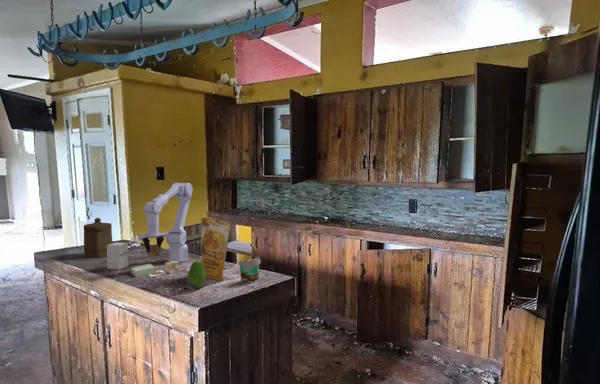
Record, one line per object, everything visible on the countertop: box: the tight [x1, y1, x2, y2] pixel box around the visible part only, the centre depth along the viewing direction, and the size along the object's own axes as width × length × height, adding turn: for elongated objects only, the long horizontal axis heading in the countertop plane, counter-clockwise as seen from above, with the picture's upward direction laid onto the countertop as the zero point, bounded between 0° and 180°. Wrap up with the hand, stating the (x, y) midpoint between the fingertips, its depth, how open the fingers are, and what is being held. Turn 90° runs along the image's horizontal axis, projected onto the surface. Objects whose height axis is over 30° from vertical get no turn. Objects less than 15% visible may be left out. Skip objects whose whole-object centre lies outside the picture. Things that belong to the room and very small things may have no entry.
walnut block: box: [147, 244, 160, 258], centre depth 190 cm, size 4×4×5 cm
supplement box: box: [106, 242, 129, 271], centre depth 192 cm, size 7×7×13 cm
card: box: [148, 269, 168, 278], centre depth 183 cm, size 8×8×1 cm
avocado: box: [186, 260, 207, 289], centre depth 162 cm, size 8×8×12 cm
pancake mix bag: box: [200, 217, 232, 281], centre depth 177 cm, size 7×19×28 cm, turn 52°
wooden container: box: [83, 217, 113, 259], centre depth 219 cm, size 15×15×22 cm
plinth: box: [130, 263, 156, 278], centre depth 183 cm, size 9×9×3 cm
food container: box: [238, 255, 262, 283], centre depth 173 cm, size 12×6×10 cm, turn 148°
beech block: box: [164, 261, 179, 275], centre depth 185 cm, size 4×4×5 cm
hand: (153, 251), depth 190 cm, fingers closed on walnut block, 4 cm apart
